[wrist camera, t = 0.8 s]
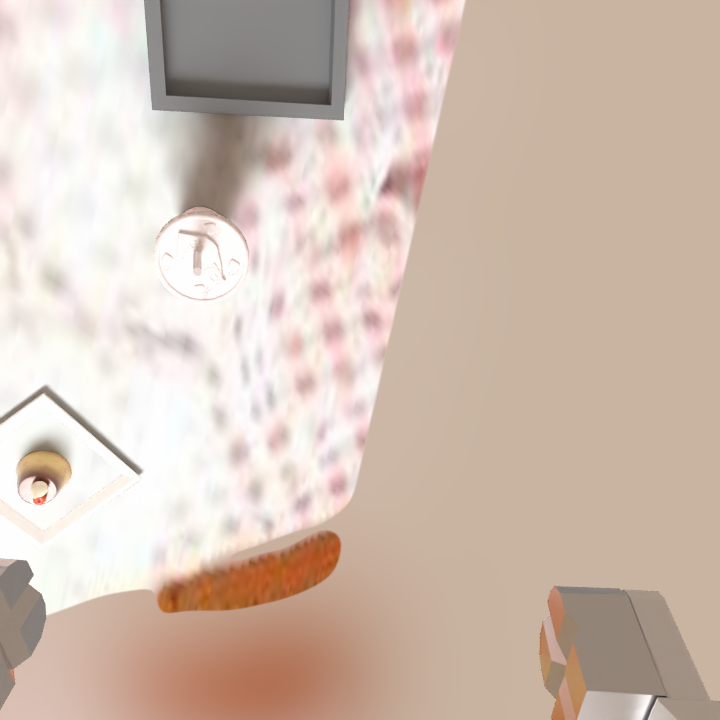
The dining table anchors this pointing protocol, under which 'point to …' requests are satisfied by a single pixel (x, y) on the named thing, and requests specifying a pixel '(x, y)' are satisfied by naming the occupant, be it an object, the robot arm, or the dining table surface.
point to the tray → (248, 56)
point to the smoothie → (201, 256)
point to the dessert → (56, 476)
